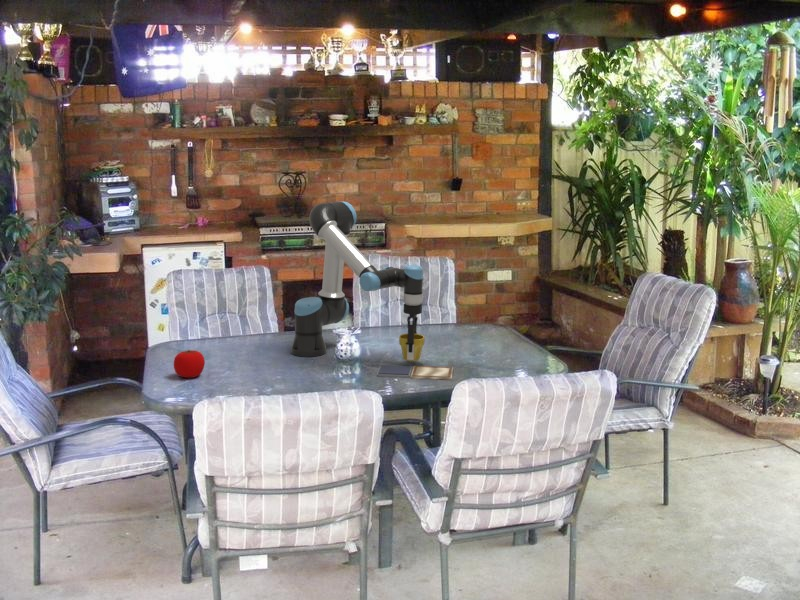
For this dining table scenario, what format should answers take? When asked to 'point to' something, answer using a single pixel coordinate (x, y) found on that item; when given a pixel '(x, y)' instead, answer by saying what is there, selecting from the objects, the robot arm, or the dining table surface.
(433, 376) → the board
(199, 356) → the tomato
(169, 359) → the dining table surface
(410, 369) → the ink pad
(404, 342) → the plant pot
